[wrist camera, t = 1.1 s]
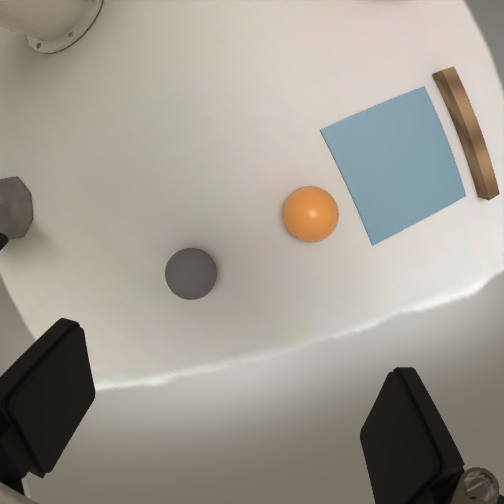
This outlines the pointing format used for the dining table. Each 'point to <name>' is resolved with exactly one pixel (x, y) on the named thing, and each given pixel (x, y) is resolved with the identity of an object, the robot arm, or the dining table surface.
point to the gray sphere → (190, 273)
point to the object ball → (310, 214)
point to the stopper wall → (468, 132)
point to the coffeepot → (14, 209)
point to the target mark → (395, 163)
